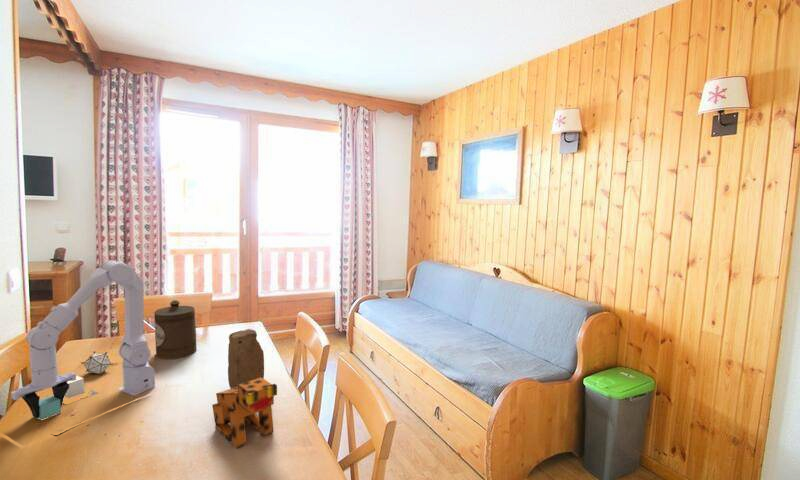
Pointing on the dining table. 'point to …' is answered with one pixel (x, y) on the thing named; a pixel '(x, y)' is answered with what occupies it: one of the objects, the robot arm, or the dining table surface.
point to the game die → (97, 363)
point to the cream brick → (75, 387)
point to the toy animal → (245, 410)
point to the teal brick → (49, 407)
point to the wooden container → (175, 331)
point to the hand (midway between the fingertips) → (47, 412)
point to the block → (244, 358)
